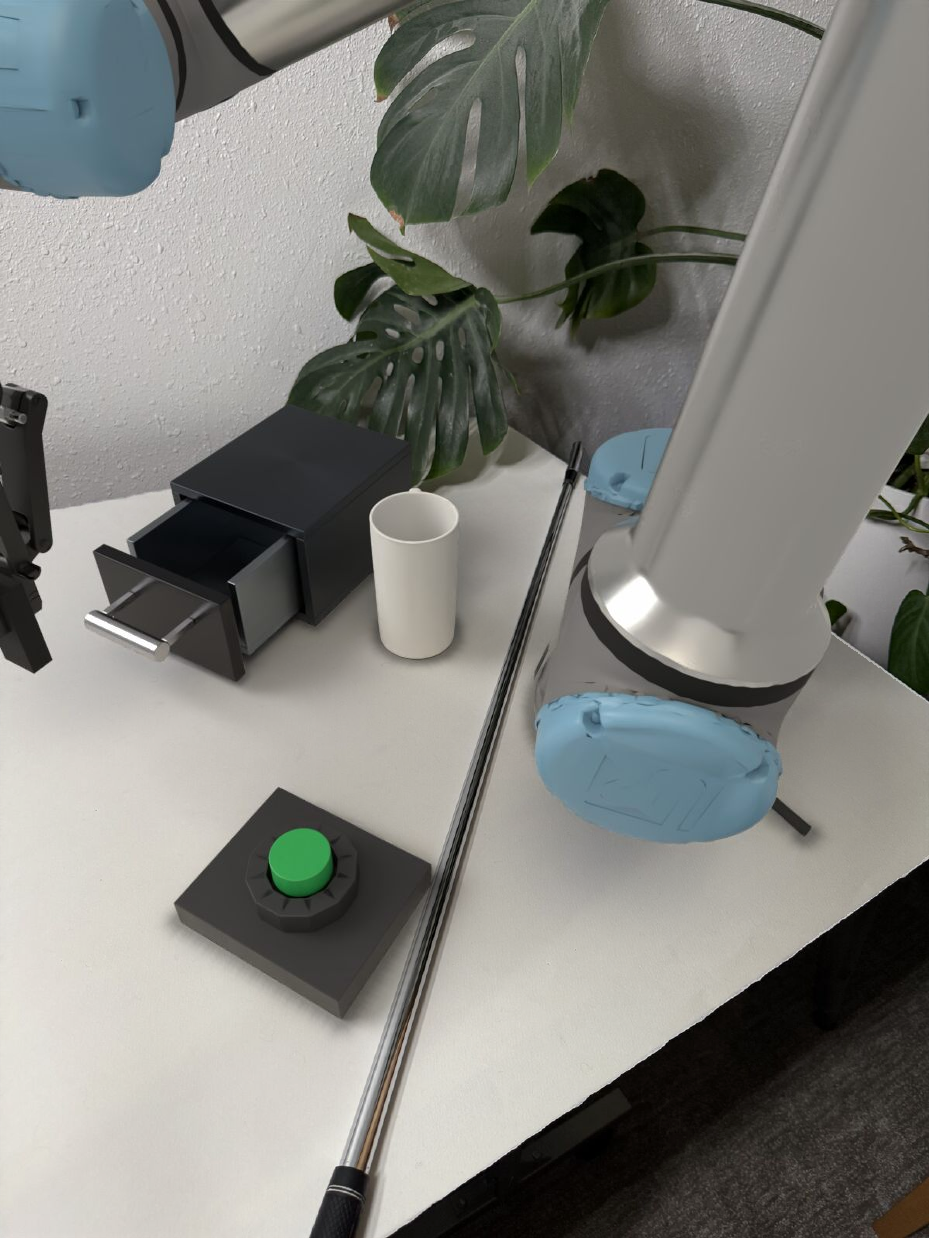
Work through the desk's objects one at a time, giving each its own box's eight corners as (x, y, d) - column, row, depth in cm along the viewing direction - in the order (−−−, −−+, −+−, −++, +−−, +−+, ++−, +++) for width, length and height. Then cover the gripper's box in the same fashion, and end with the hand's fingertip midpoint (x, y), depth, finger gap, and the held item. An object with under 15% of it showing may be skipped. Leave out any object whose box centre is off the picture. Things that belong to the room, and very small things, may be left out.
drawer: (197, 720, 65) (175, 642, 60) (75, 659, 69) (45, 582, 64) (345, 580, 77) (338, 506, 72) (234, 537, 82) (220, 464, 77)
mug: (458, 662, 71) (460, 543, 63) (375, 662, 71) (367, 543, 63) (455, 583, 79) (457, 468, 71) (380, 584, 79) (373, 468, 71)
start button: (344, 860, 53) (342, 843, 52) (308, 907, 51) (305, 890, 50) (297, 835, 55) (294, 818, 53) (259, 879, 52) (255, 863, 51)
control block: (431, 883, 56) (431, 847, 54) (341, 1019, 50) (335, 986, 47) (282, 806, 61) (275, 769, 58) (180, 922, 54) (166, 886, 51)
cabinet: (315, 626, 74) (303, 532, 68) (191, 574, 79) (168, 481, 73) (413, 531, 85) (411, 442, 78) (298, 491, 90) (287, 403, 83)
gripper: (-55, 247, 47) (66, 586, 63) (-316, 333, 39) (-100, 701, 54) (43, 275, 45) (144, 621, 60) (-213, 374, 36) (-17, 748, 52)
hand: (28, 659), depth 57 cm, fingers closed
